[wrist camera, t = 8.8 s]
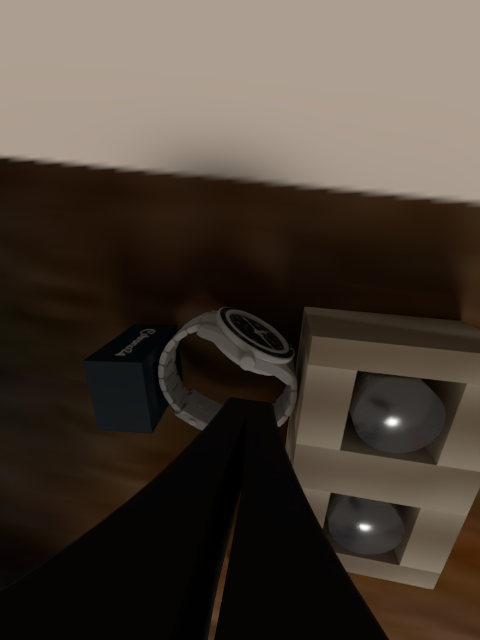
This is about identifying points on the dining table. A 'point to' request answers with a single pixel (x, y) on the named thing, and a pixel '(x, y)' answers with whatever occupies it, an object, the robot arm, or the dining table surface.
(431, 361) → the press block
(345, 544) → the steel peg
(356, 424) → the steel peg
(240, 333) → the watch
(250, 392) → the dining table surface
